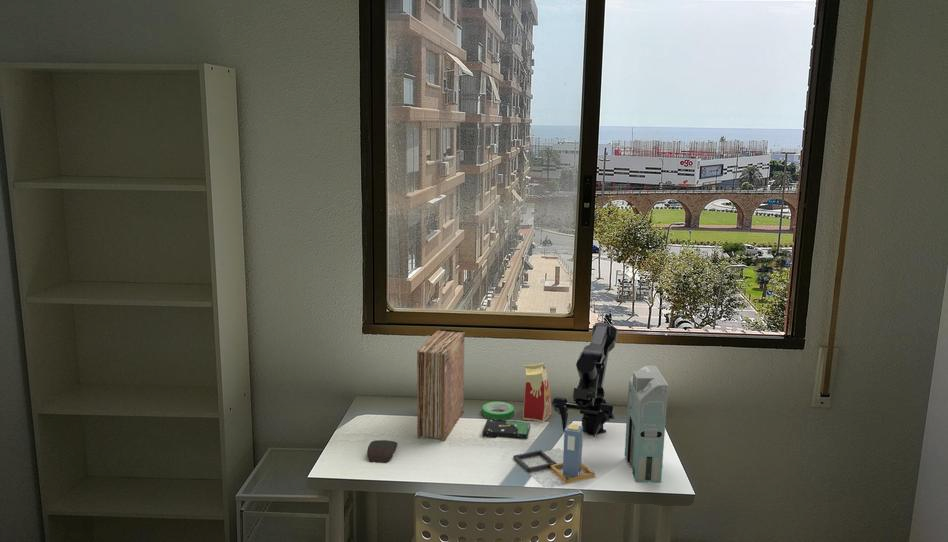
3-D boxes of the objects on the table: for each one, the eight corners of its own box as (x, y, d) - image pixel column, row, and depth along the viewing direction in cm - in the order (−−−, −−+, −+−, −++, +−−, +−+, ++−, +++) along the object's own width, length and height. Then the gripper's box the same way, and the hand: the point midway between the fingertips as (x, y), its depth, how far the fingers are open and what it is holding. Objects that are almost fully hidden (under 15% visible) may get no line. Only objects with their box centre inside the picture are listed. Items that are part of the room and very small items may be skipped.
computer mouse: (365, 463, 237) (364, 450, 236) (375, 444, 250) (374, 432, 249) (391, 464, 236) (391, 452, 235) (399, 445, 250) (399, 433, 249)
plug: (566, 467, 234) (567, 422, 231) (580, 470, 232) (583, 425, 229) (561, 475, 229) (563, 429, 226) (577, 478, 227) (579, 432, 224)
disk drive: (482, 438, 256) (527, 441, 253) (482, 430, 255) (527, 433, 253) (486, 426, 266) (530, 428, 263) (486, 418, 265) (530, 421, 263)
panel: (559, 449, 247) (559, 445, 247) (596, 478, 228) (596, 474, 228) (511, 459, 240) (511, 454, 240) (545, 490, 221) (545, 485, 221)
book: (444, 441, 252) (444, 353, 245) (416, 438, 254) (416, 350, 247) (463, 412, 276) (464, 330, 269) (438, 409, 278) (439, 328, 271)
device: (624, 456, 243) (629, 365, 236) (649, 457, 243) (655, 365, 236) (634, 482, 227) (640, 384, 220) (661, 482, 227) (668, 385, 220)
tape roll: (509, 422, 268) (509, 415, 267) (478, 418, 271) (478, 411, 270) (517, 410, 278) (517, 403, 278) (487, 406, 281) (487, 399, 281)
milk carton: (551, 413, 276) (553, 359, 271) (544, 423, 267) (546, 367, 263) (526, 409, 279) (527, 356, 274) (519, 419, 270) (520, 364, 266)
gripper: (553, 372, 241) (544, 420, 233) (614, 379, 234) (606, 428, 227) (560, 387, 250) (550, 433, 242) (618, 394, 243) (610, 442, 236)
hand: (578, 434), depth 237 cm, fingers open, 9 cm apart
